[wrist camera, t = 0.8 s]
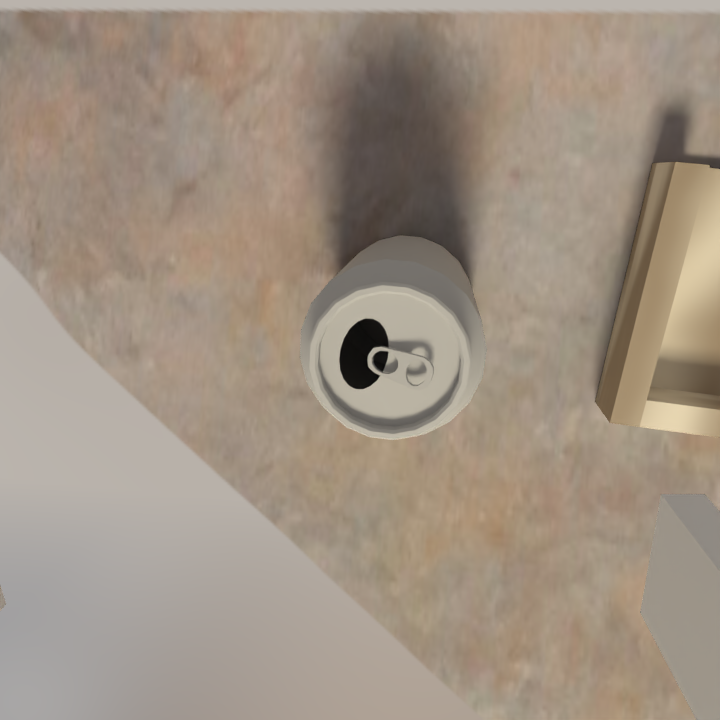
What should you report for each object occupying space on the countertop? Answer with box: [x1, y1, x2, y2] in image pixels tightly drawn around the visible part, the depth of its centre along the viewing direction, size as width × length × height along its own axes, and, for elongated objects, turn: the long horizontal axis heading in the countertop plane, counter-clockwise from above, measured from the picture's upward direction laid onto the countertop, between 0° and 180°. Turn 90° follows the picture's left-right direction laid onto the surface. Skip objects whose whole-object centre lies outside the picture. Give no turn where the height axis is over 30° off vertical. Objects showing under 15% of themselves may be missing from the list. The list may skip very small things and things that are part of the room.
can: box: [300, 235, 487, 440], centre depth 27 cm, size 8×8×12 cm
